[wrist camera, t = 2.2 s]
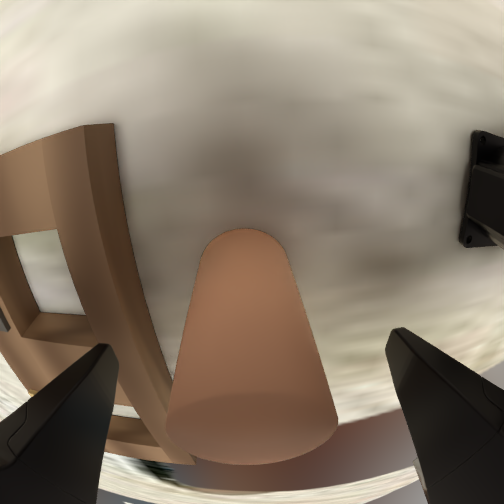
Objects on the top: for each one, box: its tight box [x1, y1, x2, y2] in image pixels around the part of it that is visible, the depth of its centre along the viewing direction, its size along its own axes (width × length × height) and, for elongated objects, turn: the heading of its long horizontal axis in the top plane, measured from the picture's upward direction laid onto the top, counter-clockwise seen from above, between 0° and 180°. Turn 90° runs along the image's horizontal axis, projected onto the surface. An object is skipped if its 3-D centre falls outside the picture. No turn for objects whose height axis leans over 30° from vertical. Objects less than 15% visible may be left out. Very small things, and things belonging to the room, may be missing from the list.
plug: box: [165, 228, 338, 465], centre depth 9 cm, size 4×4×8 cm
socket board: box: [0, 123, 197, 465], centre depth 13 cm, size 12×24×3 cm, turn 2°
